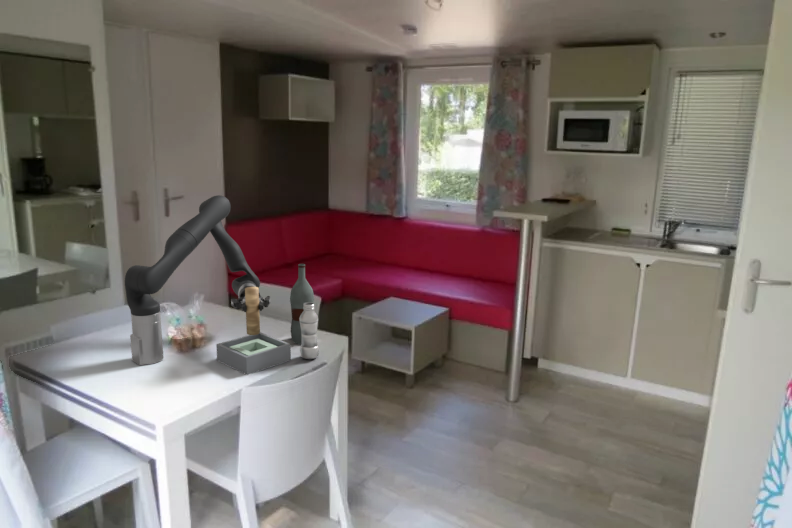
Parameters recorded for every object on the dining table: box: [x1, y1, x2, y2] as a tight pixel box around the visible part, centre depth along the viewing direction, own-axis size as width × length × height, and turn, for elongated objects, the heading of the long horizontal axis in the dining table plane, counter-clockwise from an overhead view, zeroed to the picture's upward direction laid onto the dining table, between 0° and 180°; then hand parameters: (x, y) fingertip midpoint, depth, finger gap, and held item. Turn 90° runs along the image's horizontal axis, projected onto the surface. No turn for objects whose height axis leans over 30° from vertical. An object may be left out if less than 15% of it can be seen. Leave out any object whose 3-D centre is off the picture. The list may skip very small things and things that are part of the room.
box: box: [215, 331, 292, 376], centre depth 198 cm, size 18×18×6 cm
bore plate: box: [229, 339, 278, 356], centre depth 198 cm, size 12×12×4 cm
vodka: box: [289, 263, 315, 345], centre depth 216 cm, size 9×9×30 cm
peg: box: [245, 287, 261, 335], centre depth 194 cm, size 4×4×16 cm
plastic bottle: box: [299, 302, 320, 360], centre depth 199 cm, size 6×7×20 cm
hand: (253, 308), depth 192 cm, fingers closed on peg, 4 cm apart
